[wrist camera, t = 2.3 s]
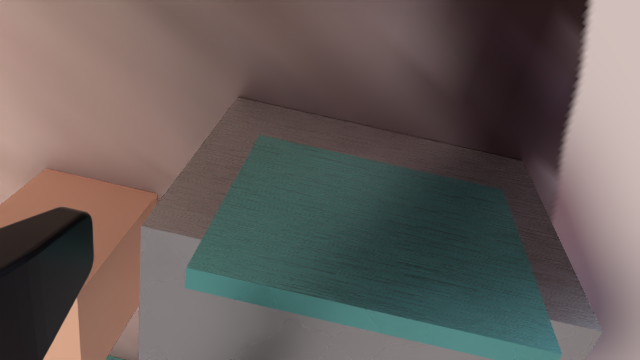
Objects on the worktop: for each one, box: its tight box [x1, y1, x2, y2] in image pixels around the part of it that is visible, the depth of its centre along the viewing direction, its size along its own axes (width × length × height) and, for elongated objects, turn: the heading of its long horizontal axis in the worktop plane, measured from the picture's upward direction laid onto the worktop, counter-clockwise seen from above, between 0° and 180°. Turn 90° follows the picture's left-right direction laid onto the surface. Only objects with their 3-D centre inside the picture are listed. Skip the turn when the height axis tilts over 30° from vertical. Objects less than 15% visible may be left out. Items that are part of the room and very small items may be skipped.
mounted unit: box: [138, 97, 603, 360], centre depth 15 cm, size 6×10×10 cm, turn 79°
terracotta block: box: [0, 169, 157, 360], centre depth 19 cm, size 4×4×6 cm
